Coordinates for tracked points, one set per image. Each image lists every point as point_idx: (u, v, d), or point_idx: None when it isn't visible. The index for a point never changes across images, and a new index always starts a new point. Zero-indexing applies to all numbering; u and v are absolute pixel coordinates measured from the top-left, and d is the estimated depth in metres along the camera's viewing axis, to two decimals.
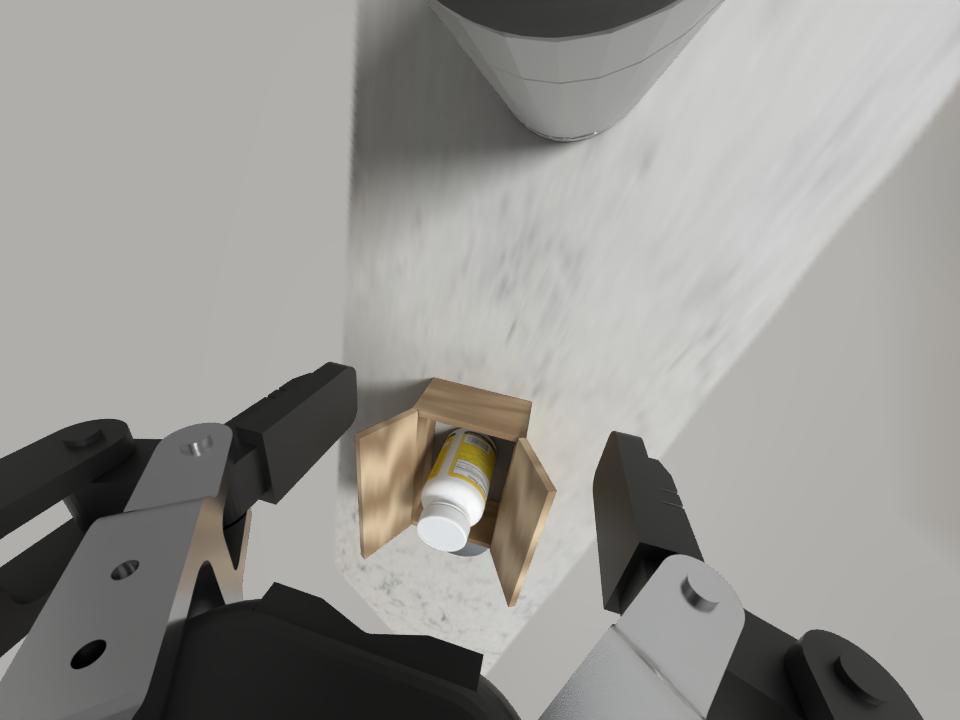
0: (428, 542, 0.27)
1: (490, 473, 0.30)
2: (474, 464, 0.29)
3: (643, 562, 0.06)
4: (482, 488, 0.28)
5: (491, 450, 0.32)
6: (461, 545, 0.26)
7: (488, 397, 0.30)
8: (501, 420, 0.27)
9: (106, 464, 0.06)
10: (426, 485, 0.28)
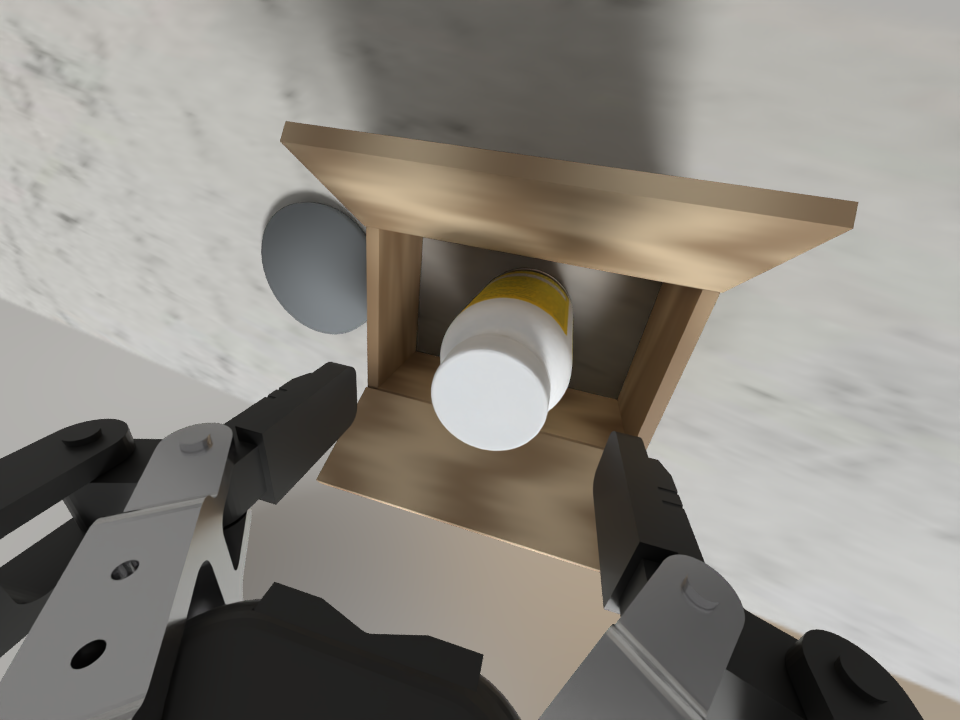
0: (449, 370, 0.11)
1: None
2: None
3: (643, 562, 0.06)
4: None
5: None
6: (465, 439, 0.12)
7: None
8: None
9: (106, 464, 0.06)
10: (548, 319, 0.12)
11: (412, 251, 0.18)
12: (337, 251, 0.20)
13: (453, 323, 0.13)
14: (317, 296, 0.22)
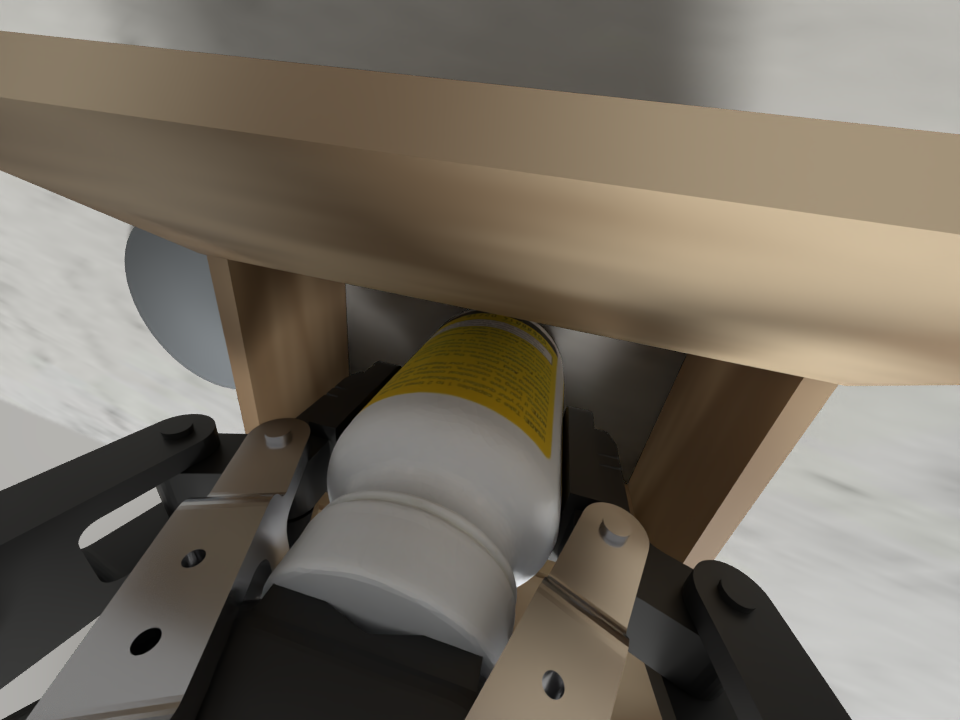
0: None
1: None
2: None
3: (574, 512, 0.07)
4: None
5: None
6: None
7: None
8: None
9: (199, 456, 0.07)
10: (513, 440, 0.06)
11: (323, 283, 0.12)
12: None
13: (341, 437, 0.07)
14: (209, 340, 0.16)
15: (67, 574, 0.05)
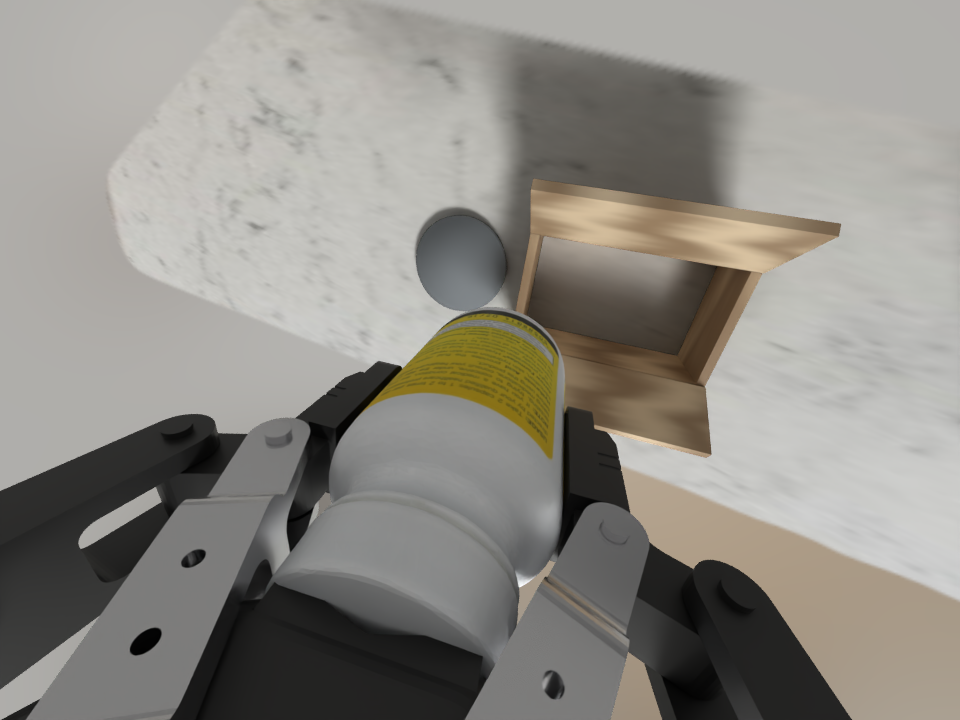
0: None
1: None
2: None
3: (574, 512, 0.07)
4: None
5: None
6: None
7: None
8: None
9: (199, 456, 0.07)
10: (515, 441, 0.06)
11: (539, 250, 0.27)
12: (478, 250, 0.28)
13: (343, 438, 0.07)
14: (456, 282, 0.30)
15: (67, 574, 0.05)
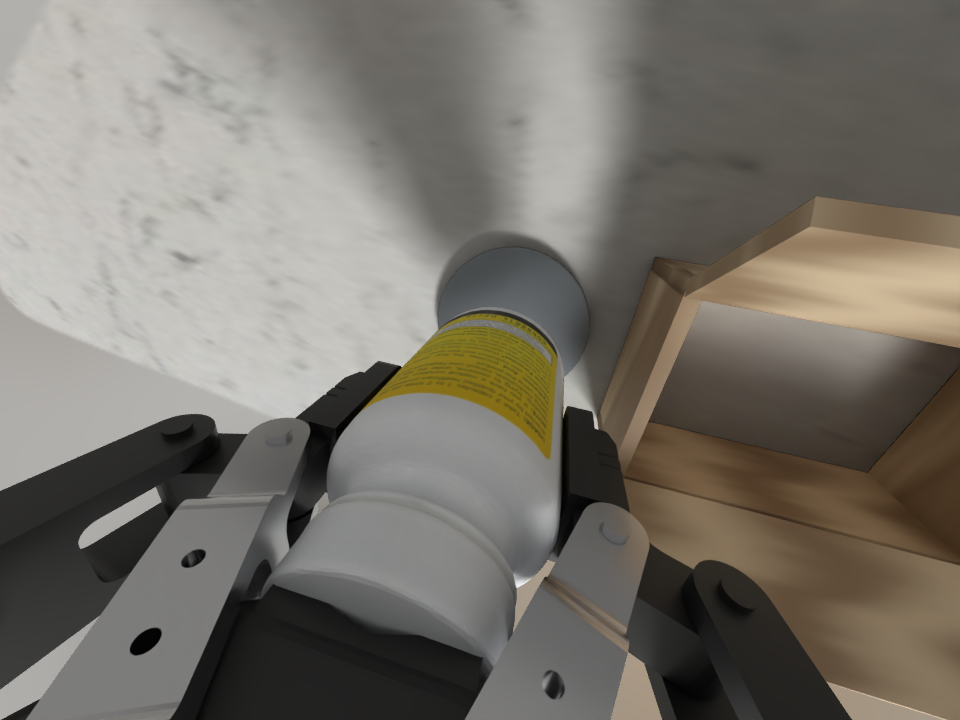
0: None
1: None
2: None
3: (574, 512, 0.07)
4: None
5: None
6: None
7: None
8: None
9: (199, 456, 0.07)
10: (513, 441, 0.06)
11: None
12: (543, 304, 0.17)
13: (341, 438, 0.07)
14: None
15: (67, 574, 0.05)
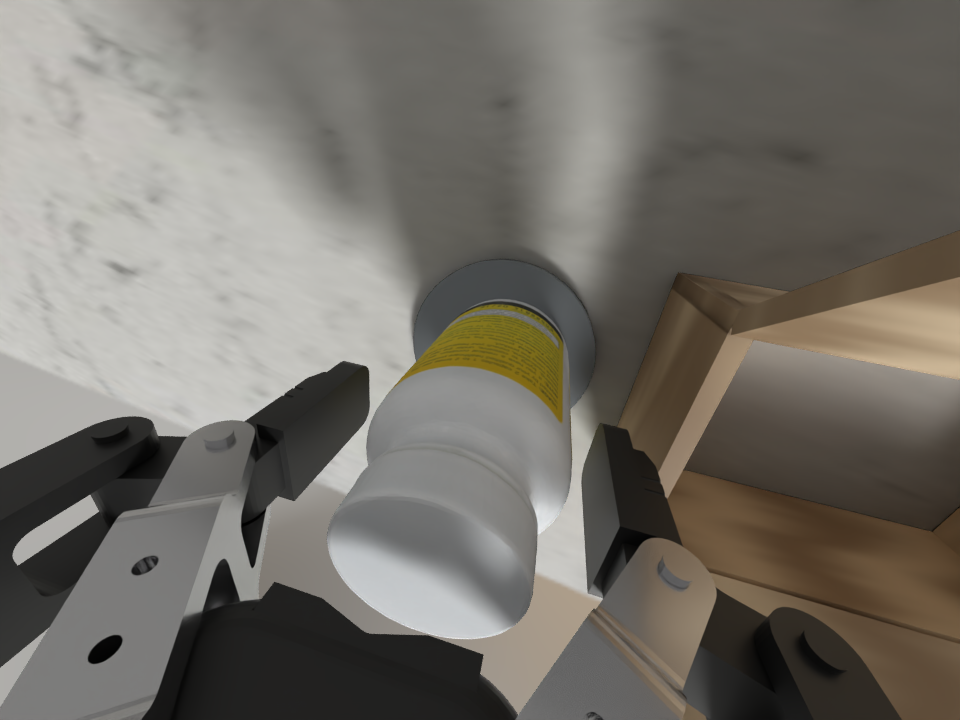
0: (352, 522, 0.06)
1: None
2: None
3: (623, 546, 0.07)
4: None
5: None
6: (395, 617, 0.07)
7: None
8: None
9: (134, 461, 0.07)
10: (532, 405, 0.08)
11: None
12: None
13: (381, 406, 0.08)
14: None
15: (2, 590, 0.05)
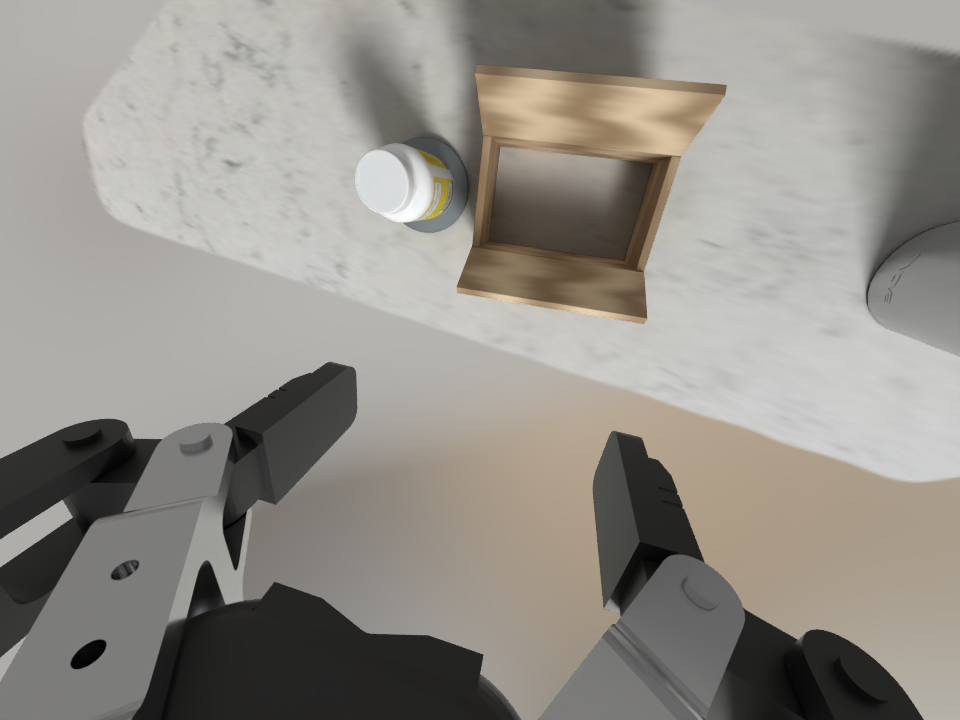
0: (361, 165, 0.23)
1: (424, 219, 0.30)
2: (438, 202, 0.28)
3: (643, 562, 0.06)
4: (421, 217, 0.28)
5: (439, 214, 0.31)
6: (374, 208, 0.24)
7: None
8: None
9: (106, 464, 0.06)
10: (415, 150, 0.25)
11: (495, 163, 0.30)
12: None
13: None
14: None
15: None
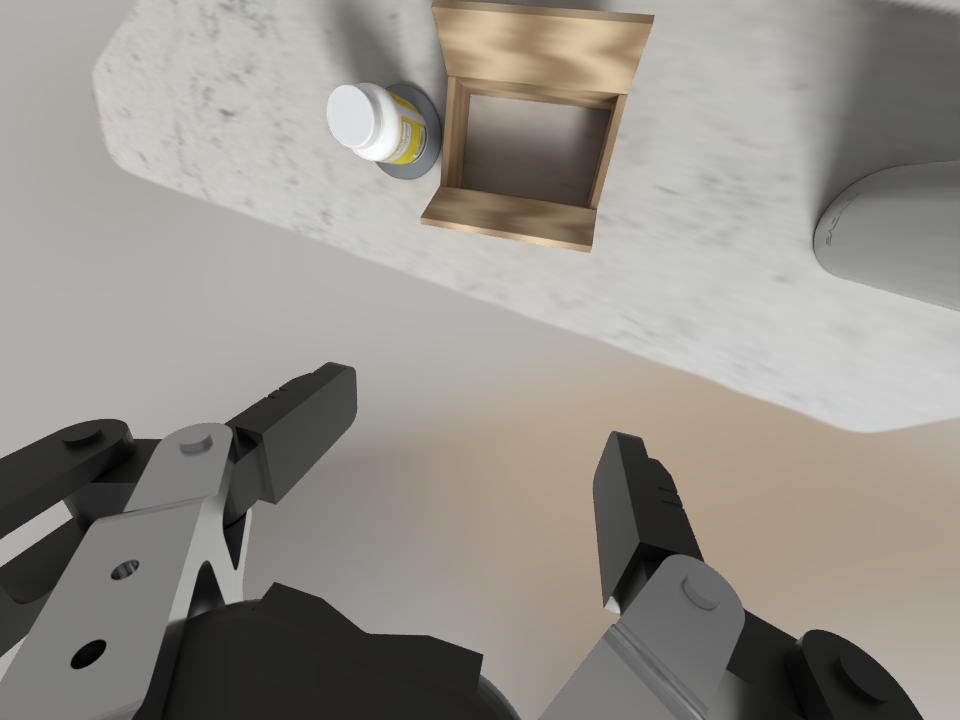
0: (331, 100, 0.26)
1: (398, 161, 0.32)
2: (409, 144, 0.31)
3: (643, 562, 0.06)
4: (392, 156, 0.30)
5: (413, 158, 0.34)
6: (345, 142, 0.27)
7: None
8: None
9: (106, 464, 0.06)
10: (382, 89, 0.27)
11: (464, 109, 0.32)
12: None
13: None
14: None
15: None
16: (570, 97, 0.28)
